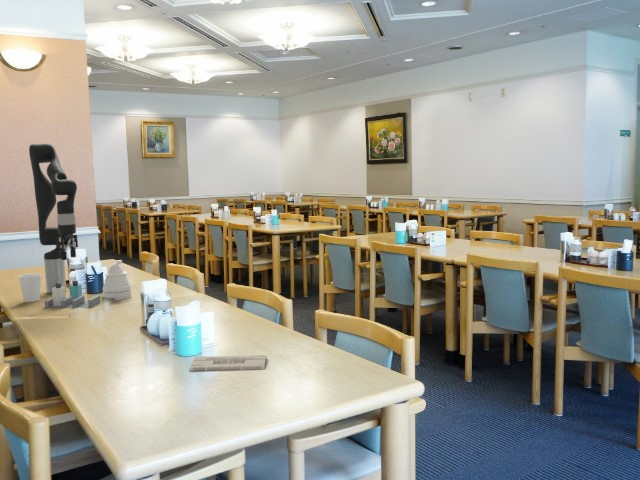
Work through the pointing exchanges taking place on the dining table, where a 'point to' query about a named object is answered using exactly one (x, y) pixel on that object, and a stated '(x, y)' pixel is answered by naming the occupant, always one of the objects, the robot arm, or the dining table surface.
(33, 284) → the foam cup
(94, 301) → the comb board
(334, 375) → the dining table surface
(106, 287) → the honey pot
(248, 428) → the dining table surface
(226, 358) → the newspaper
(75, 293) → the teal plug
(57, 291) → the white plug
